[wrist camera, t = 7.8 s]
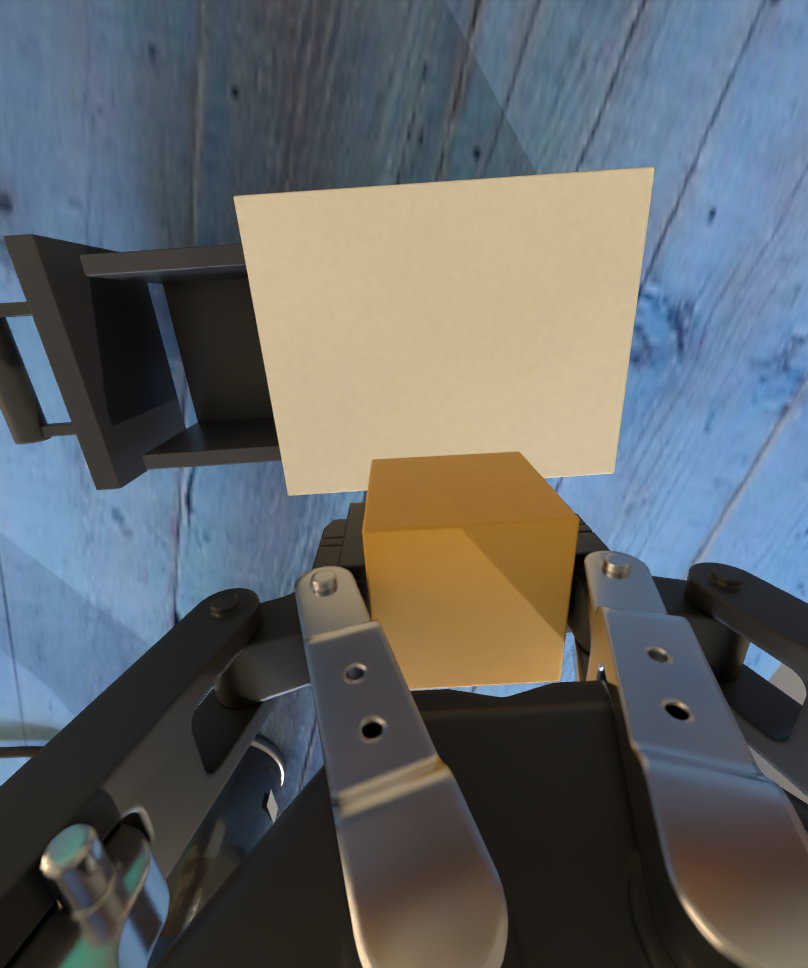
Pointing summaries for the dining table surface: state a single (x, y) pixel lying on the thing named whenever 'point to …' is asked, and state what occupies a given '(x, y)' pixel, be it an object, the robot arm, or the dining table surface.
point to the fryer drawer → (139, 356)
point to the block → (469, 568)
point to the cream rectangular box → (447, 320)
